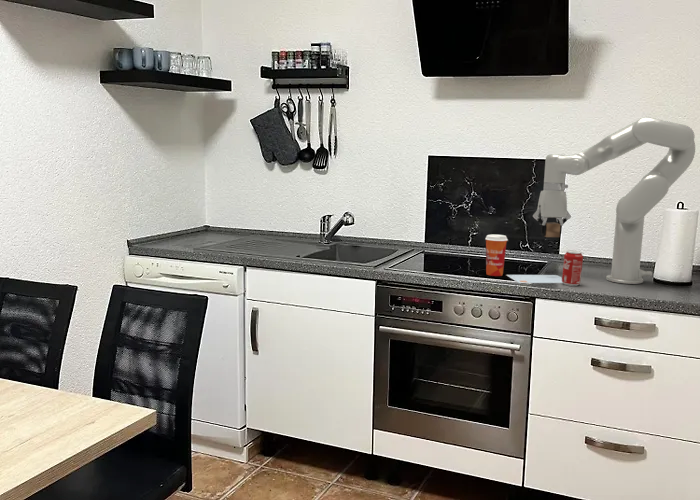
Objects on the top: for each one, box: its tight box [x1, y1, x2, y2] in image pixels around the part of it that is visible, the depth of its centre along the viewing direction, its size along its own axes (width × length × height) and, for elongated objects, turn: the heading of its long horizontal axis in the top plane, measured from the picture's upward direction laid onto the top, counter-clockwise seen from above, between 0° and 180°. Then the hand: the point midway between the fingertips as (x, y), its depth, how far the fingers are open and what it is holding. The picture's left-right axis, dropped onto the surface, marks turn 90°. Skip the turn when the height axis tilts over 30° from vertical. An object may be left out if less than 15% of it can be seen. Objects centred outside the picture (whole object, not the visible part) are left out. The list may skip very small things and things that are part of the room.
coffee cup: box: [484, 233, 509, 277], centre depth 260 cm, size 8×8×15 cm
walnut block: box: [544, 221, 561, 238], centre depth 264 cm, size 5×5×5 cm
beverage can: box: [561, 249, 584, 287], centre depth 244 cm, size 6×6×12 cm
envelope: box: [505, 274, 564, 284], centre depth 254 cm, size 20×15×1 cm
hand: (550, 235), depth 264 cm, fingers closed on walnut block, 5 cm apart
